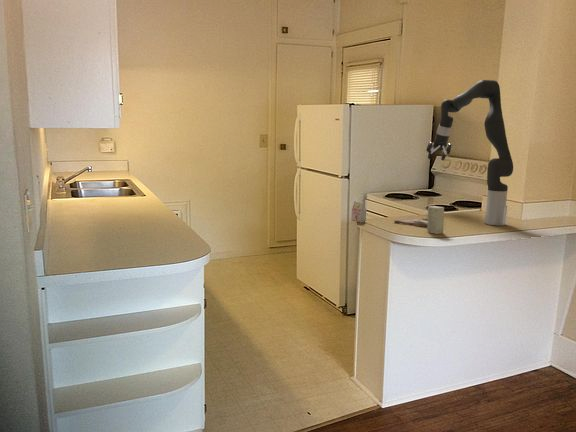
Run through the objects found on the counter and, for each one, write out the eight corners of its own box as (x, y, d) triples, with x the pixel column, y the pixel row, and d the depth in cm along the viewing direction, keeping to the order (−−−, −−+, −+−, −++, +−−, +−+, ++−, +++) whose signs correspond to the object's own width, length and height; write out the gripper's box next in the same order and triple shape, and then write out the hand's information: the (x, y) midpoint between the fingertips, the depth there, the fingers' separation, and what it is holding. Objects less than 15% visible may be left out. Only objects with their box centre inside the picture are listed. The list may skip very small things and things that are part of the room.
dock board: (441, 224, 256) (441, 220, 256) (432, 228, 247) (432, 223, 247) (404, 219, 268) (404, 215, 268) (394, 222, 259) (394, 218, 259)
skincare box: (443, 233, 235) (445, 207, 233) (436, 234, 233) (438, 208, 231) (432, 230, 241) (434, 205, 238) (426, 231, 238) (427, 206, 236)
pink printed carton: (356, 219, 266) (357, 200, 264) (365, 221, 261) (366, 202, 259) (351, 220, 264) (352, 201, 262) (360, 222, 258) (361, 203, 257)
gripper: (434, 134, 295) (427, 161, 302) (456, 136, 298) (449, 162, 305) (429, 130, 302) (422, 156, 308) (450, 132, 305) (443, 158, 312)
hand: (435, 159), depth 307 cm, fingers open, 8 cm apart
